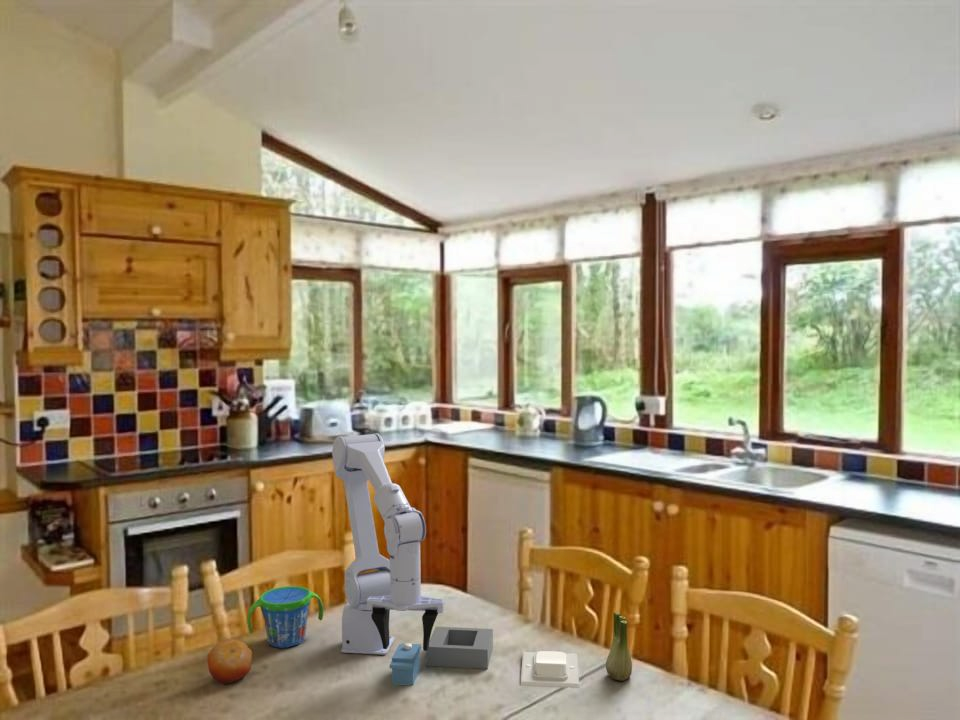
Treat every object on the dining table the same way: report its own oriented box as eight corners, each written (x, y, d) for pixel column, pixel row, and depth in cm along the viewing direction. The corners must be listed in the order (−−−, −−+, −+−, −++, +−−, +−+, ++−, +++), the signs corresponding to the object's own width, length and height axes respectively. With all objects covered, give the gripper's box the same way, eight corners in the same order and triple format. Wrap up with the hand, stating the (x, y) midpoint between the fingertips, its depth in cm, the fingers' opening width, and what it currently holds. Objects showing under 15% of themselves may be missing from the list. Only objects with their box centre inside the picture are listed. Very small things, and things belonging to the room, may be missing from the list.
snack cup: (248, 657, 148) (248, 607, 148) (246, 637, 158) (245, 590, 158) (327, 646, 154) (326, 598, 154) (320, 627, 164) (319, 581, 163)
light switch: (520, 671, 136) (522, 638, 149) (520, 693, 137) (522, 658, 149) (579, 673, 135) (576, 640, 148) (579, 695, 136) (576, 660, 148)
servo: (389, 688, 136) (389, 658, 135) (401, 665, 145) (401, 637, 145) (411, 690, 135) (410, 659, 135) (421, 666, 145) (421, 638, 144)
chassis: (426, 665, 145) (426, 646, 144) (435, 644, 155) (435, 626, 154) (487, 668, 143) (487, 649, 143) (492, 647, 153) (492, 629, 153)
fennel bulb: (629, 686, 136) (629, 622, 136) (602, 681, 138) (603, 618, 137) (634, 672, 142) (634, 610, 141) (608, 668, 143) (608, 607, 143)
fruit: (235, 655, 146) (244, 627, 143) (251, 687, 142) (261, 658, 139) (195, 668, 141) (203, 639, 138) (211, 701, 136) (220, 672, 133)
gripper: (362, 582, 136) (362, 655, 137) (439, 585, 134) (440, 658, 135) (372, 570, 143) (372, 639, 144) (446, 572, 141) (446, 642, 142)
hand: (406, 647), depth 140 cm, fingers open, 7 cm apart
